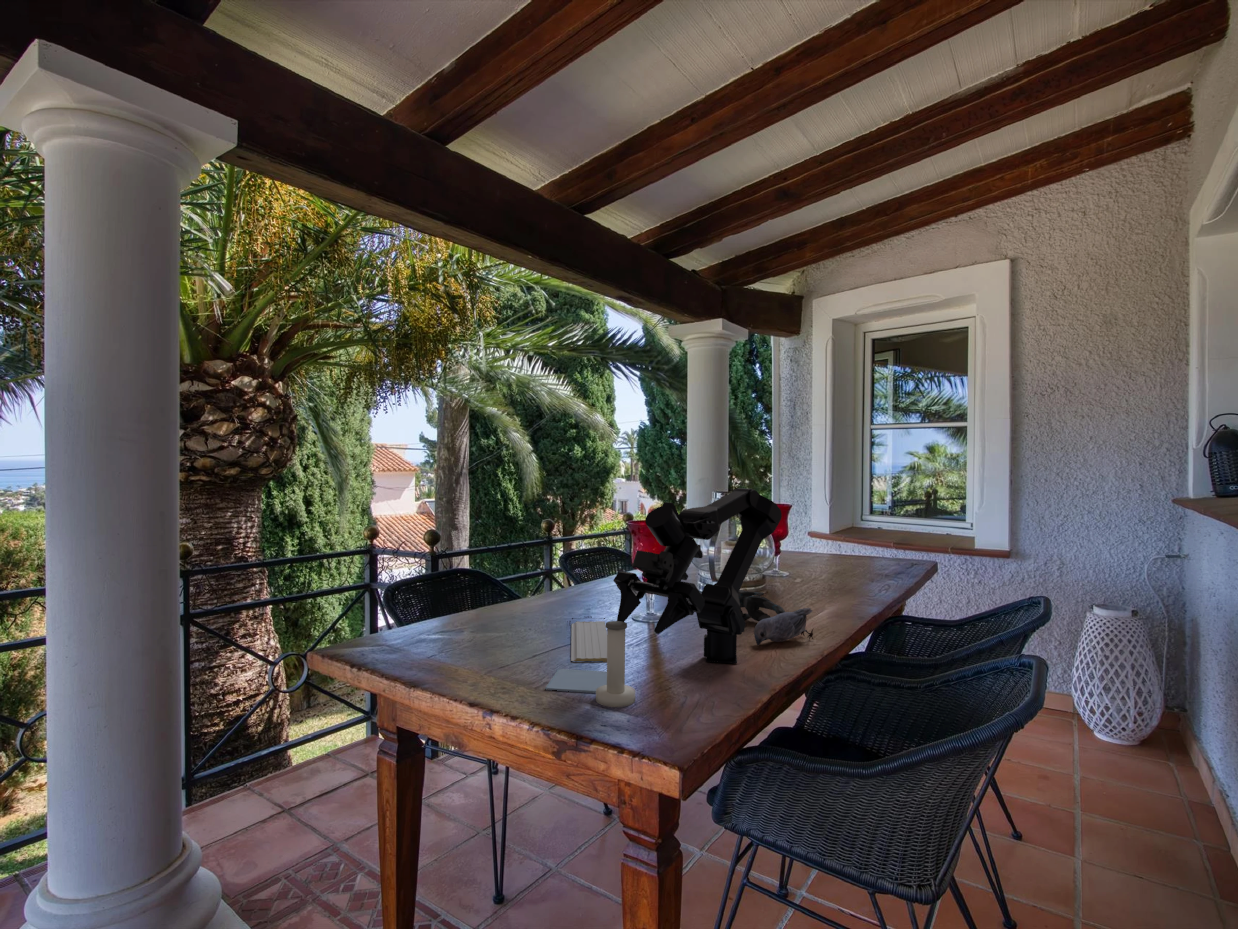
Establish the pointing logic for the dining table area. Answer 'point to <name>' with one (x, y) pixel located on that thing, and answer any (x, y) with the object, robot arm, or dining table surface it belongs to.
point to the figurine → (756, 605)
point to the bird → (782, 626)
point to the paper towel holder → (615, 669)
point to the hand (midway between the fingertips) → (636, 627)
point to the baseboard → (588, 640)
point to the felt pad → (577, 680)
